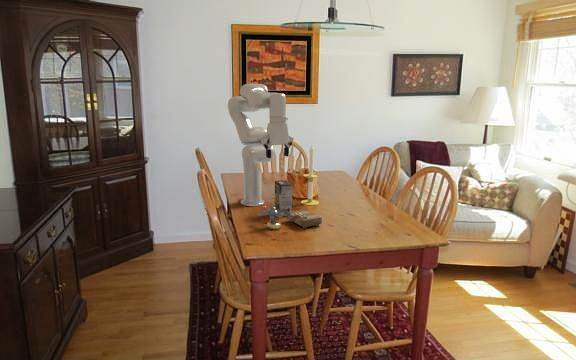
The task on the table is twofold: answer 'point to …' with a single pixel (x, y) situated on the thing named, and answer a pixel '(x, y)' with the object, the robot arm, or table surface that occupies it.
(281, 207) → the coffee box
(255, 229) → the table surface
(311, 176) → the candle
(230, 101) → the robot arm
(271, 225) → the capstan
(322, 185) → the table surface
